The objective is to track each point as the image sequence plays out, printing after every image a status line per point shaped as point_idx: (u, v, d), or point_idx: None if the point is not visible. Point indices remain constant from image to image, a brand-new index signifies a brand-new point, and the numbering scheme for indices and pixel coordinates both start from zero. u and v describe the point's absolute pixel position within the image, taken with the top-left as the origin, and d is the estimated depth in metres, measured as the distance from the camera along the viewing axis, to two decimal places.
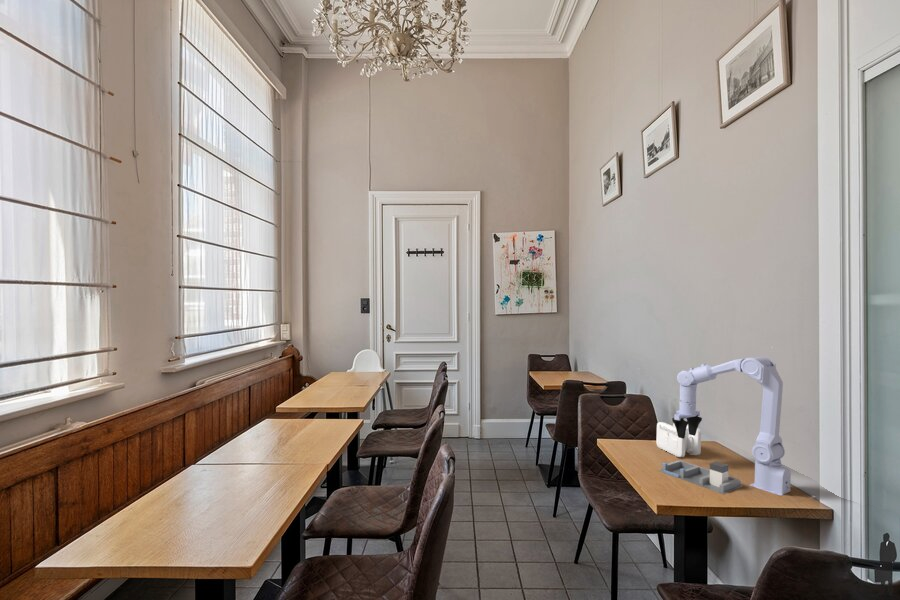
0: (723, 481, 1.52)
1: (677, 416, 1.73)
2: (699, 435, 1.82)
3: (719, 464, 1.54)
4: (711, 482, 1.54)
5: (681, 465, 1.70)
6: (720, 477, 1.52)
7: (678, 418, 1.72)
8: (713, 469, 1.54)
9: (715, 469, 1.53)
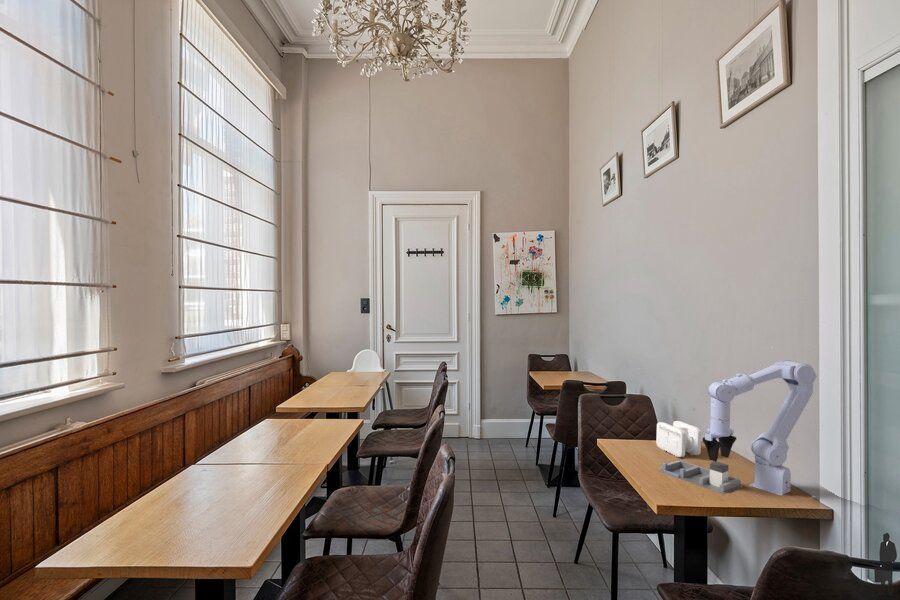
0: (723, 481, 1.52)
1: (709, 436, 1.50)
2: (699, 435, 1.82)
3: (719, 464, 1.54)
4: (711, 482, 1.54)
5: (681, 465, 1.70)
6: (720, 477, 1.52)
7: (710, 438, 1.50)
8: (713, 469, 1.54)
9: (715, 469, 1.53)
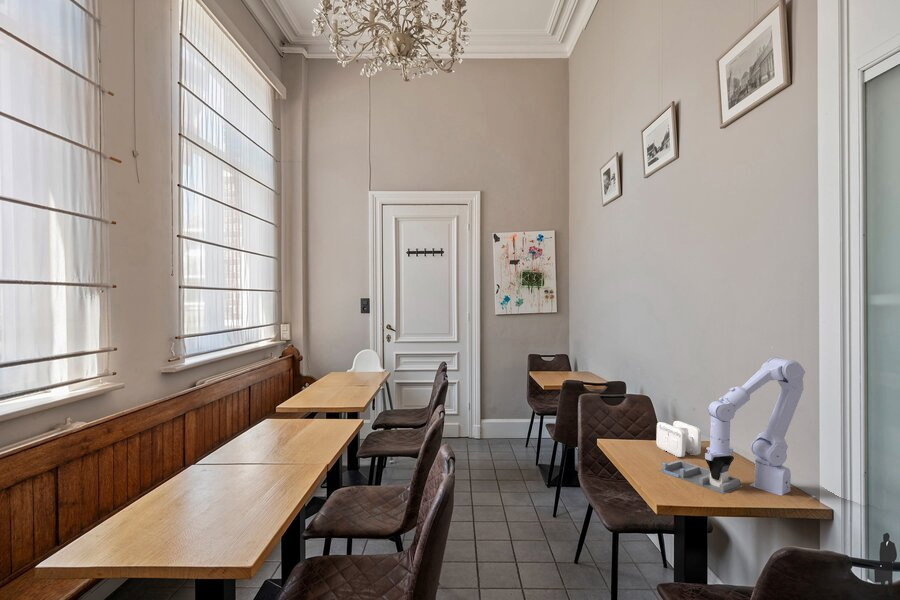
0: (723, 481, 1.52)
1: (709, 455, 1.50)
2: (699, 435, 1.82)
3: None
4: (711, 482, 1.54)
5: (681, 465, 1.70)
6: (720, 477, 1.52)
7: (710, 458, 1.50)
8: None
9: None
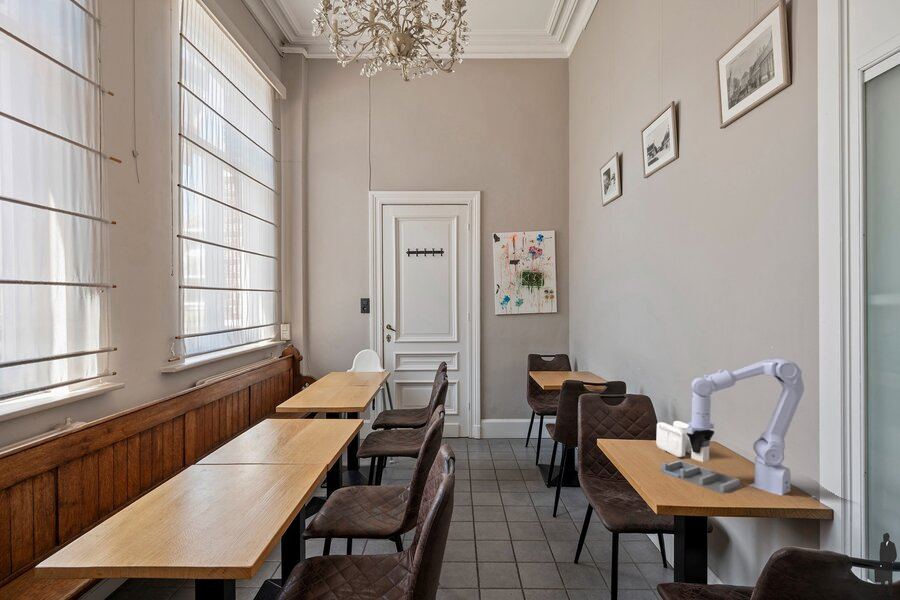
0: (704, 455, 1.57)
1: (690, 429, 1.55)
2: None
3: None
4: (693, 456, 1.59)
5: (681, 465, 1.70)
6: (701, 451, 1.57)
7: (691, 431, 1.55)
8: None
9: None
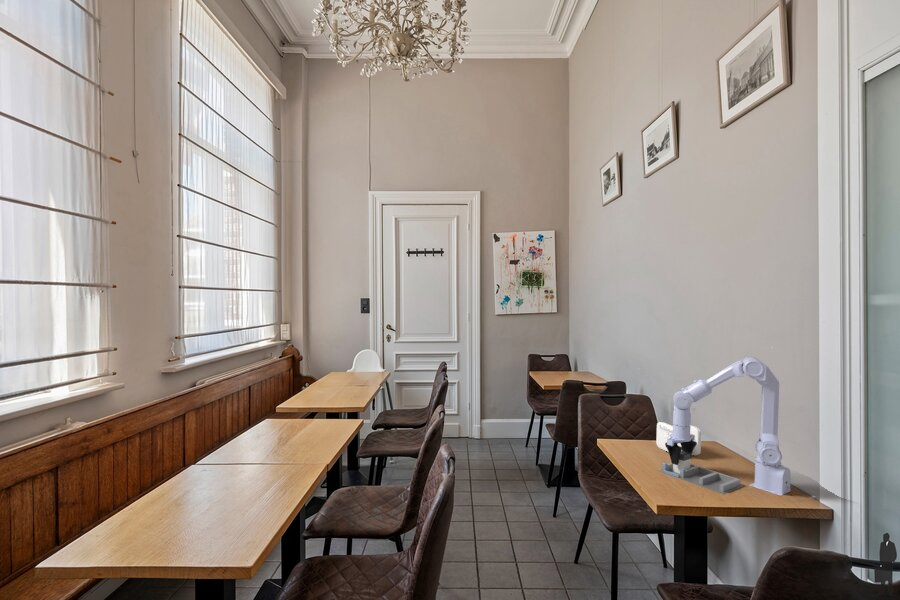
0: (685, 468, 1.63)
1: (670, 441, 1.61)
2: (699, 435, 1.82)
3: (682, 452, 1.65)
4: (674, 469, 1.65)
5: None
6: (682, 464, 1.63)
7: (671, 443, 1.61)
8: None
9: None
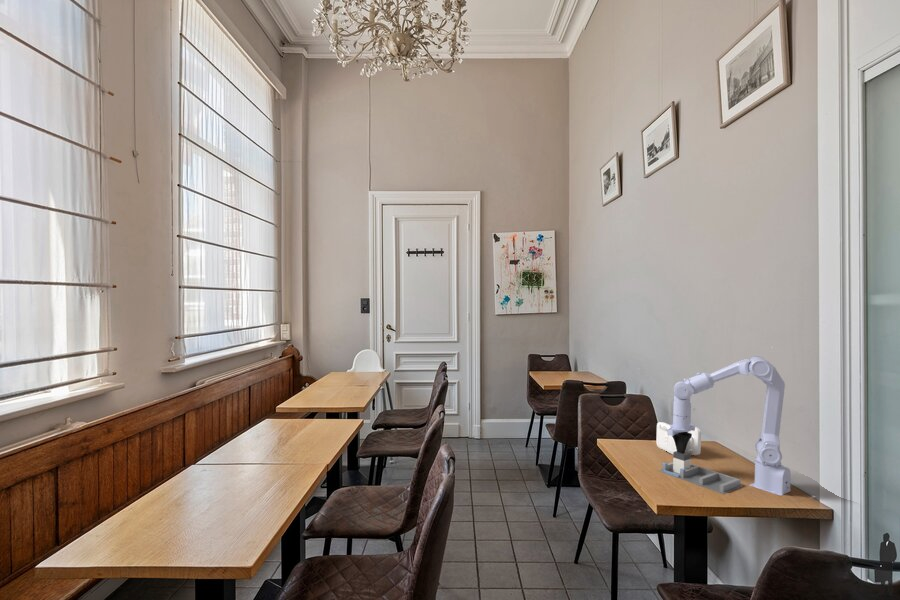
0: (685, 468, 1.63)
1: (670, 431, 1.61)
2: (699, 435, 1.82)
3: None
4: (674, 469, 1.65)
5: None
6: (682, 464, 1.63)
7: (671, 433, 1.61)
8: (676, 457, 1.65)
9: (678, 457, 1.64)
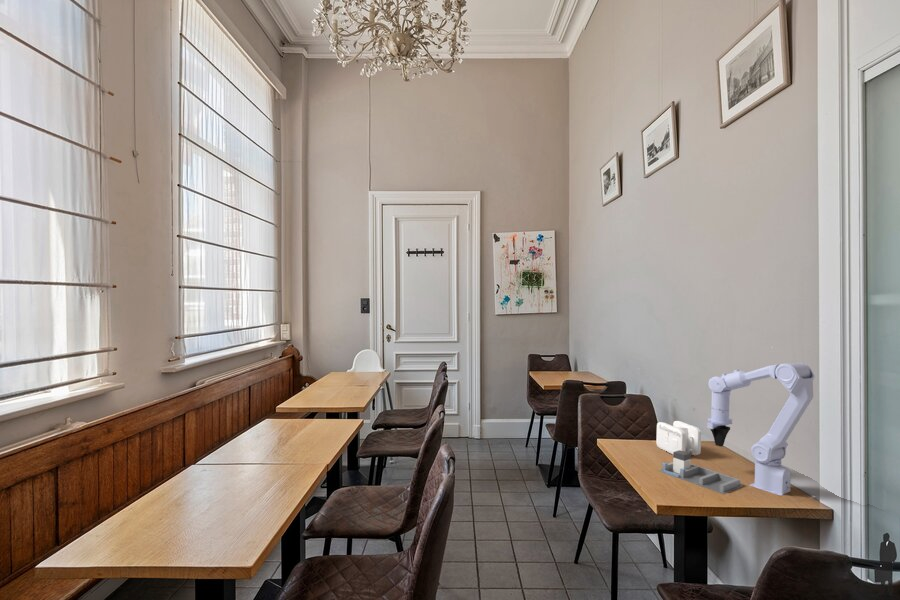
0: (685, 468, 1.63)
1: (710, 425, 1.64)
2: (699, 435, 1.82)
3: (682, 452, 1.65)
4: (674, 469, 1.65)
5: None
6: (682, 464, 1.63)
7: (711, 427, 1.64)
8: (676, 457, 1.65)
9: (678, 457, 1.64)
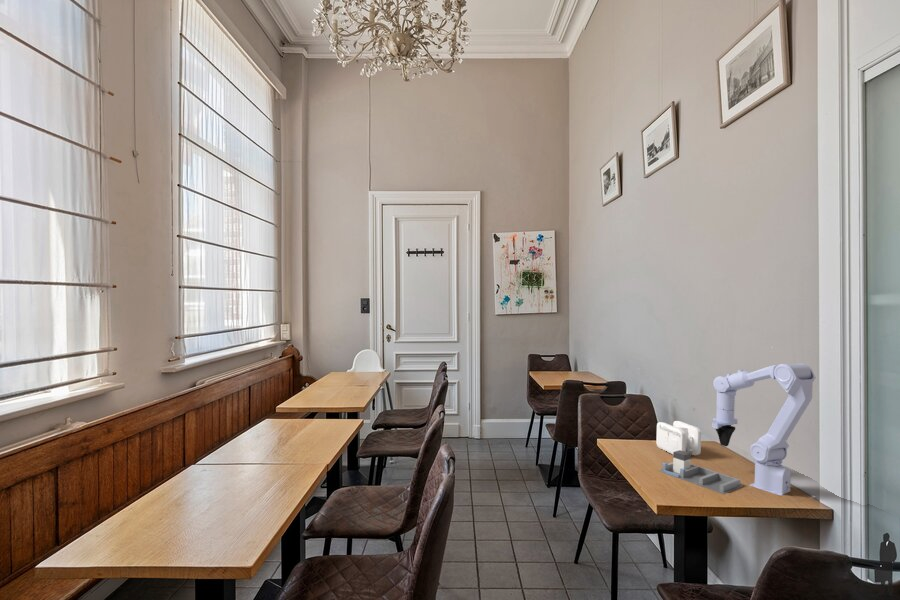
0: (685, 468, 1.63)
1: (715, 424, 1.65)
2: (699, 435, 1.82)
3: (682, 452, 1.65)
4: (674, 469, 1.65)
5: None
6: (682, 464, 1.63)
7: (716, 426, 1.64)
8: (676, 457, 1.65)
9: (678, 457, 1.64)
